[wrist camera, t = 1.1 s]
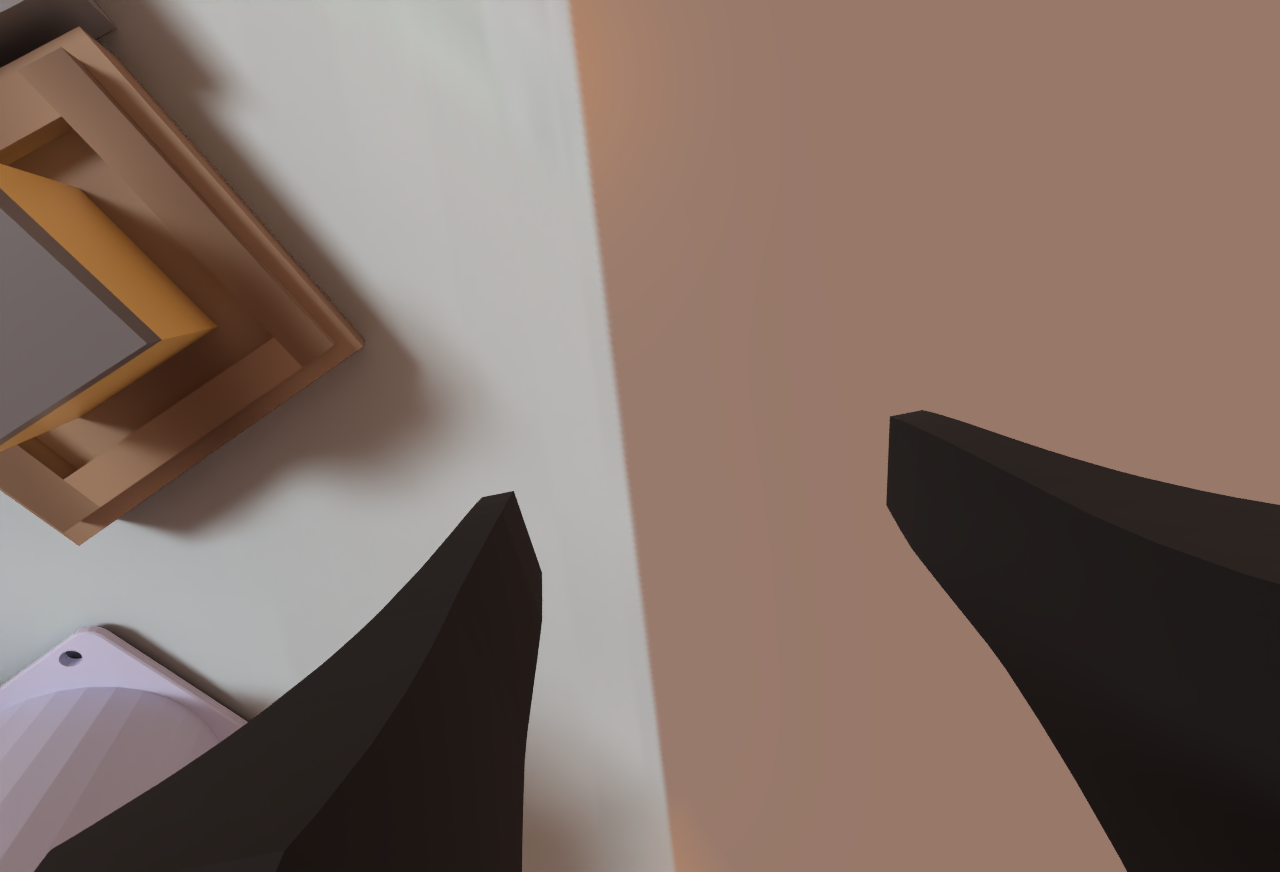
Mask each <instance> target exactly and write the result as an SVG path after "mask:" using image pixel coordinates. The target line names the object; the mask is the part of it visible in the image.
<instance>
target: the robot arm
mask: <svg viewBox="0 0 1280 872" xmlns="http://www.w3.org/2000/svg"><path fill="white" fill-rule="evenodd" d="M889 431H890V432H889V456H888V480H887V507H888V509H889V510H890V512H891V514H892V516H893V518H894V519H895V521H896V523H897V525H898V526H899V528H900V530H901V531H902V533H903V535H904V536H905V538H906V539H907V541H908V543H909V545H910V546H911V548H912V549H913V551H914V552H915V553H916V555H917V556H918V557H919V558H920V560H921V561H922V562H923V564H924V565H925V566H926V567H927V569H928V570H929V571H930V572H931V574H932V575H933V576H934V578H935V579H936V580H937V581H938V582H939V584H940V585H941V586H942V588H943V589H944V590H945V591H946V593H947V594H948V595H949V596H950V598H951V599H952V600H953V601H954V603H955V604H956V605H957V606H958V608H959V609H960V610H961V611H962V613H963V614H964V615H965V616H966V618H967V619H968V620H969V621H970V622H971V624H972V625H973V626H974V628H975V629H976V630H977V631H978V633H979V634H980V635H981V636H982V638H983V639H984V640H985V641H986V643H988V645H989V646H990V648H991V649H992V651H993V652H994V653H995V655H996V656H997V657H998V659H999V660H1000V662H1001V663H1002V664H1003V666H1004V667H1005V668H1006V670H1007V672H1008V673H1009V674H1010V676H1011V678H1012V679H1013V681H1014V682H1015V684H1016V685H1017V687H1018V688H1019V690H1020V692H1021V693H1022V695H1023V696H1024V698H1025V699H1026V701H1027V702H1028V704H1029V705H1030V707H1031V709H1032V710H1033V712H1034V713H1035V715H1036V716H1037V718H1038V719H1039V721H1040V723H1041V724H1042V726H1043V728H1044V729H1045V731H1046V733H1047V734H1048V736H1049V737H1050V739H1051V740H1052V742H1053V744H1054V745H1055V747H1056V749H1057V750H1058V752H1059V754H1060V755H1061V757H1062V759H1063V760H1064V762H1065V764H1066V765H1067V767H1068V769H1069V770H1070V772H1071V774H1072V775H1073V777H1074V778H1075V780H1076V782H1077V784H1078V785H1079V787H1080V789H1081V790H1082V792H1083V794H1084V796H1085V797H1086V799H1087V801H1088V802H1089V804H1090V806H1091V808H1092V810H1093V812H1094V813H1095V815H1096V817H1097V819H1098V820H1099V822H1100V824H1101V825H1102V827H1103V829H1104V831H1105V833H1106V834H1107V836H1108V838H1109V840H1110V841H1111V843H1112V845H1113V847H1114V848H1115V850H1116V852H1117V854H1118V855H1119V857H1120V859H1121V860H1122V863H1123V864H1124V866H1125V868H1126V870H1127V872H1280V505H1276V504H1270V503H1264V502H1259V501H1253V500H1247V499H1241V498H1235V497H1230V496H1225V495H1220V494H1215V493H1210V492H1205V491H1200V490H1196V489H1191V488H1187V487H1182V486H1178V485H1174V484H1169V483H1165V482H1161V481H1156V480H1151V479H1147V478H1143V477H1139V476H1135V475H1131V474H1128V473H1123V472H1120V471H1116V470H1113V469H1109V468H1105V467H1102V466H1098V465H1095V464H1092V463H1088V462H1085V461H1081V460H1078V459H1074V458H1071V457H1068V456H1065V455H1061V454H1058V453H1055V452H1052V451H1048V450H1045V449H1042V448H1039V447H1036V446H1033V445H1030V444H1027V443H1024V442H1021V441H1018V440H1015V439H1012V438H1009V437H1006V436H1003V435H1000V434H997V433H994V432H991V431H988V430H985V429H983V428H980V427H977V426H974V425H971V424H968V423H965V422H962V421H959V420H956V419H952V418H949V417H946V416H943V415H939V414H935V413H932V412H927V411H923V410H921V411H916V412H911V413H906V414H901V415H896V416H891V417H890V429H889ZM541 624H542V572H541V569H540V566H539V563H538V560H537V557H536V554H535V552H534V549H533V546H532V543H531V540H530V537H529V534H528V531H527V528H526V525H525V523H524V520H523V517H522V514H521V511H520V508H519V505H518V502H517V499H516V496H515V494H514V491H512V492H507V493H502V494H497V495H492V496H487V497H482V498H481V499H480V500H479V501H478V502H477V503H476V504H475V506H474V507H473V508H472V509H471V510H470V511H469V513H468V514H467V515H466V516H465V517H464V518H463V520H462V521H461V522H460V523H459V524H458V526H457V527H456V528H455V529H454V530H453V532H452V533H451V534H450V535H449V536H448V538H447V539H446V540H445V541H444V542H443V543H442V545H441V546H440V547H439V548H438V549H437V550H436V552H435V553H434V554H433V555H432V556H431V557H430V559H429V560H428V561H427V562H426V563H425V564H424V565H423V567H422V568H421V569H420V570H419V571H418V572H417V573H416V574H415V575H414V576H413V577H412V578H411V579H410V581H409V582H408V583H407V584H406V585H405V586H404V587H403V588H402V589H401V590H400V591H399V592H398V593H397V594H396V595H395V596H394V598H393V599H392V600H391V601H390V602H389V603H388V604H387V605H386V606H385V607H384V608H383V609H382V610H381V611H380V612H379V613H378V614H377V615H376V616H375V617H374V618H373V619H372V620H371V621H370V622H369V623H368V624H367V625H366V626H365V627H364V628H363V629H361V630H360V631H359V632H358V633H357V634H356V635H355V636H354V637H353V638H352V639H350V640H349V641H348V642H347V643H346V644H345V645H344V646H343V647H342V648H340V649H339V650H338V651H337V652H336V653H335V654H334V655H333V656H331V657H330V658H329V659H328V660H327V661H326V662H324V663H323V664H322V665H321V666H320V667H318V668H317V669H316V670H315V671H313V672H312V673H311V674H310V675H308V676H307V677H306V678H304V679H303V680H302V681H301V682H299V683H298V684H297V685H296V686H294V687H293V688H292V689H291V690H289V691H288V692H287V693H286V694H284V695H283V696H282V697H281V698H279V699H278V700H277V701H276V702H274V703H273V704H272V705H270V706H269V707H268V708H267V709H265V710H264V711H263V712H261V713H260V714H259V715H257V716H256V717H255V718H253V719H252V720H251V721H249V722H247V721H246V720H244V719H243V718H241V717H240V716H238V715H236V714H235V713H233V712H232V711H230V710H229V709H227V708H226V707H224V706H223V705H221V704H220V703H218V702H217V701H215V700H214V699H212V698H211V697H209V696H207V695H206V694H204V693H203V692H201V691H200V690H198V689H197V688H195V687H194V686H192V685H191V684H189V683H188V682H186V681H185V680H183V679H181V678H180V677H178V676H177V675H175V674H174V673H172V672H171V671H169V670H168V669H166V668H165V667H163V666H162V665H160V664H159V663H157V662H156V661H154V660H152V659H151V658H149V657H148V656H146V655H145V654H143V653H142V652H140V651H139V650H137V649H136V648H134V647H133V646H131V645H130V644H128V643H126V642H125V641H123V640H122V639H120V638H119V637H117V636H116V635H114V634H113V633H111V632H110V631H108V630H107V629H104V628H102V627H98V626H88V627H83V628H81V629H79V630H77V631H75V632H74V633H73V634H71V635H70V636H69V637H67V638H66V639H64V640H63V641H62V642H60V643H59V644H58V645H56V646H55V647H53V648H52V649H51V650H49V651H48V652H47V653H45V654H44V655H43V656H41V657H40V658H38V659H37V660H36V661H34V662H33V663H32V664H30V665H29V666H27V667H26V668H25V669H23V670H22V671H21V672H19V673H18V674H16V675H15V676H14V677H12V678H11V679H10V680H8V681H7V682H5V683H4V684H3V685H1V686H0V872H522V826H523V793H524V764H525V751H526V740H527V731H528V723H529V716H530V708H531V701H532V693H533V686H534V678H535V671H536V664H537V656H538V648H539V640H540V632H541ZM66 651H76V652H79V653H80V654H81V655H82V658H79V659H73V658H70V657H68V656H67V655H66Z"/></svg>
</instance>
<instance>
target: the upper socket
mask: <svg viewBox="0 0 1280 872" xmlns="http://www.w3.org/2000/svg"><path fill="white" fill-rule="evenodd" d="M0 164H3V165H6V166H9V167H13V168H16V169H19V170H22V171H25V172H29V173H32V174H35V175H38V176H41V177H45V178H48V179H51V180H54V181H57V182H61V183H64V184H67V185H70V186H73V187H77V188H79V189H80V190H81V191H82V192H83V193H84V194H85V195H86V196H87V197H88V198H89V199H90V200H91V201H92V202H93V203H94V204H95V205H96V206H97V207H98V208H99V209H100V210H101V211H102V212H103V213H104V214H105V215H106V216H107V217H108V218H109V219H110V220H111V221H112V222H113V223H114V224H115V225H116V226H117V227H118V228H119V229H120V230H121V231H122V232H123V233H124V234H125V235H126V236H127V237H128V238H129V239H130V240H131V241H132V242H133V243H134V244H135V245H136V246H137V247H138V248H139V249H140V250H141V251H142V252H143V253H144V254H145V255H146V256H147V257H148V258H149V259H150V260H151V261H152V262H153V263H154V264H155V265H156V266H157V267H158V268H159V269H160V270H161V271H162V272H163V273H164V274H165V275H166V276H167V277H168V278H169V279H170V280H171V281H172V282H173V283H174V284H176V285H177V286H178V287H179V288H180V289H181V290H182V291H183V292H184V293H185V294H186V295H187V296H188V297H189V298H190V299H191V300H192V301H193V302H194V303H195V304H196V305H197V306H198V307H199V308H200V309H201V310H202V311H203V312H204V313H205V314H206V315H207V316H208V317H209V318H210V319H211V320H212V321H213V322H214V323H215V324H216V325H217V326H218V327H216V328H215V329H213V330H212V331H210V332H209V333H207V334H206V335H204V336H203V337H201V338H199V339H198V340H196V341H195V342H193V343H192V344H190V345H189V346H187V347H186V348H184V349H183V350H181V351H180V352H178V353H177V354H175V355H174V356H172V357H171V358H169V359H168V360H166V361H165V362H163V363H162V364H160V365H158V366H157V367H155V368H154V369H152V370H151V371H149V372H148V373H146V374H145V375H143V376H142V377H140V378H139V379H137V380H136V381H134V382H133V383H131V384H130V385H128V386H127V387H125V388H124V389H122V390H121V391H119V392H118V393H116V394H114V395H113V396H111V397H110V398H108V399H107V400H105V401H104V402H102V403H101V404H99V405H98V406H96V407H95V408H93V409H92V410H90V411H89V412H87V413H86V414H84V415H83V416H81V417H80V418H78V419H75V420H73V421H71V422H68V423H66V424H64V425H61V426H59V427H57V428H54V429H52V430H50V431H47V432H45V433H43V434H40V435H38V436H36V437H33V438H31V439H29V440H26V441H24V442H22V443H19V444H17V445H15V446H12V447H10V448H8V449H5V450H3V451H1V452H0V490H1V491H2V492H4V493H5V494H7V495H8V496H9V497H11V498H12V499H14V500H15V501H16V502H18V503H19V504H21V505H22V506H24V507H25V508H26V509H28V510H29V511H31V512H32V513H33V514H35V515H36V516H38V517H39V518H40V519H42V520H43V521H45V522H46V523H48V524H49V525H50V526H52V527H53V528H55V529H56V530H57V531H59V532H60V533H62V534H63V535H64V536H66V537H67V538H69V539H70V540H72V541H73V542H74V543H76V544H77V545H81V544H82V543H84V542H85V541H87V540H88V539H89V538H91V537H92V536H94V535H95V534H97V533H98V532H99V531H101V530H102V529H104V528H105V527H107V526H108V525H109V524H111V523H112V522H114V521H115V520H117V519H118V518H119V517H121V516H122V515H124V514H125V513H126V512H128V511H129V510H131V509H132V508H134V507H135V506H136V505H138V504H139V503H141V502H142V501H144V500H145V499H146V498H148V497H149V496H151V495H152V494H154V493H155V492H156V491H158V490H159V489H161V488H162V487H164V486H165V485H166V484H168V483H169V482H171V481H172V480H174V479H175V478H176V477H178V476H179V475H181V474H182V473H184V472H185V471H186V470H188V469H189V468H191V467H192V466H194V465H195V464H196V463H198V462H199V461H201V460H202V459H204V458H205V457H206V456H208V455H209V454H211V453H212V452H214V451H215V450H216V449H218V448H219V447H221V446H222V445H224V444H225V443H226V442H228V441H229V440H231V439H232V438H234V437H235V436H236V435H238V434H239V433H241V432H242V431H243V430H245V429H246V428H248V427H249V426H251V425H252V424H253V423H255V422H256V421H258V420H259V419H261V418H262V417H263V416H265V415H266V414H268V413H269V412H271V411H272V410H273V409H275V408H276V407H278V406H279V405H281V404H282V403H283V402H285V401H286V400H288V399H289V398H291V397H292V396H293V395H295V394H296V393H298V392H299V391H301V390H302V389H303V388H305V387H306V386H308V385H309V384H311V383H312V382H313V381H315V380H316V379H318V378H319V377H321V376H322V375H323V374H325V373H326V372H328V371H329V370H331V369H332V368H333V367H335V366H336V365H338V364H339V363H341V362H342V361H343V360H345V359H346V358H348V357H349V356H351V355H352V354H353V353H355V352H356V351H358V350H359V349H360V348H362V347H363V345H364V343H365V340H364V339H363V338H362V336H361V335H360V334H359V333H358V332H357V331H356V330H355V328H354V327H353V326H352V325H351V324H350V323H349V322H348V320H347V319H346V318H345V317H344V316H343V315H342V314H341V313H340V311H339V310H338V309H337V308H336V307H335V306H334V305H333V303H332V302H331V301H330V300H329V299H328V298H327V297H326V295H325V294H324V293H323V292H322V291H321V290H320V289H319V287H318V286H317V285H316V284H315V283H314V282H313V281H312V280H311V278H310V277H309V276H308V275H307V274H306V273H305V272H304V270H303V269H302V268H301V267H300V266H299V265H298V264H297V262H296V261H295V260H294V259H293V258H292V257H291V256H290V254H289V253H288V252H287V251H286V250H285V249H284V248H283V247H282V245H281V244H280V243H279V242H278V241H277V240H276V239H275V237H274V236H273V235H272V234H271V233H270V232H269V231H268V229H267V228H266V227H265V226H264V225H263V224H262V223H261V221H260V220H259V219H258V218H257V217H256V216H255V215H254V214H253V212H252V211H251V210H250V209H249V208H248V207H247V206H246V204H245V203H244V202H243V201H242V200H241V199H240V198H239V196H238V195H237V194H236V193H235V192H234V191H233V190H232V189H231V187H230V186H229V185H228V184H227V183H226V182H225V181H224V179H223V178H222V177H221V176H220V175H219V174H218V173H217V171H216V170H215V169H214V168H213V167H212V166H211V165H210V163H209V162H208V161H207V160H206V159H205V158H204V157H203V156H202V154H201V153H200V152H199V151H198V150H197V149H196V148H195V146H194V145H193V144H192V143H191V142H190V141H189V140H188V138H187V137H186V136H185V135H184V134H183V133H182V132H181V130H180V129H179V128H178V127H177V126H176V125H175V124H174V123H173V121H172V120H171V119H170V118H169V117H168V116H167V115H166V113H165V112H164V111H163V110H162V109H161V108H160V107H159V105H158V104H157V103H156V102H155V101H154V100H153V99H152V97H151V96H150V95H149V94H148V93H147V92H146V91H145V90H144V88H143V87H142V86H141V85H140V84H139V83H138V82H137V80H136V79H135V78H134V77H133V76H132V75H131V74H130V72H129V71H128V70H127V69H126V68H125V67H124V66H123V64H122V63H121V62H120V61H119V60H118V59H117V58H116V57H115V56H114V55H113V54H112V53H110V52H109V51H108V50H107V49H106V48H104V47H103V46H102V45H101V44H100V43H98V42H97V41H96V40H95V39H94V38H92V37H91V36H90V35H89V34H88V33H86V32H85V31H84V30H83V29H82V28H80V27H77V28H75V29H73V30H71V31H69V32H67V33H65V34H64V35H62V36H60V37H58V38H56V39H54V40H52V41H50V42H48V43H47V44H45V45H43V46H41V47H39V48H37V49H35V50H33V51H31V52H30V53H28V54H26V55H24V56H22V57H20V58H18V59H16V60H14V61H13V62H11V63H9V64H7V65H5V66H3V67H1V68H0Z"/></svg>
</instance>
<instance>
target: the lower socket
mask: <svg viewBox="0 0 1280 872" xmlns="http://www.w3.org/2000/svg"><path fill="white" fill-rule="evenodd" d="M77 27H80V28H82V29H83V30H84V31H85V32H86V33H88V34H89V35H90V36H91V37H92V38H94V39H97V38H99V37H101V36H102V35H104V34H106V33H108V32H110V31H112V30H114V29H115V28H117V27H116V26H115V25H114V24H113V23H112V22H111V20H110V19H109V18H108V17H107V16H106V15H105V13H104V12H103V11H102V10H101V9H100V8H99V7H98V5H97V4H96V3H95V2H94V1H93V0H0V68H1V67H3V66H5V65H7V64H9V63H11V62H13V61H14V60H16V59H18V58H20V57H22V56H24V55H26V54H28V53H30V52H31V51H33V50H35V49H37V48H39V47H41V46H43V45H45V44H47V43H48V42H50V41H52V40H54V39H56V38H58V37H60V36H62V35H64V34H65V33H67V32H69V31H71V30H73V29H75V28H77Z"/></svg>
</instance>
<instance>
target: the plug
mask: <svg viewBox="0 0 1280 872" xmlns="http://www.w3.org/2000/svg"><path fill="white" fill-rule="evenodd" d="M216 327H218V326H217V325H216V324H215V323H214V322H213V321H212V320H211V319H210V318H209V317H208V316H207V315H206V314H205V313H204V312H203V311H202V310H201V309H200V308H199V307H198V306H197V305H196V304H195V303H194V302H193V301H192V300H191V299H190V298H189V297H188V296H187V295H186V294H185V293H184V292H183V291H182V290H181V289H180V288H179V287H178V286H177V285H176V284H174V283H173V282H172V281H171V280H170V279H169V278H168V277H167V276H166V275H165V274H164V273H163V272H162V271H161V270H160V269H159V268H158V267H157V266H156V265H155V264H154V263H153V262H152V261H151V260H150V259H149V258H148V257H147V256H146V255H145V254H144V253H143V252H142V251H141V250H140V249H139V248H138V247H137V246H136V245H135V244H134V243H133V242H132V241H131V240H130V239H129V238H128V237H127V236H126V235H125V234H124V233H123V232H122V231H121V230H120V229H119V228H118V227H117V226H116V225H115V224H114V223H113V222H112V221H111V220H110V219H109V218H108V217H107V216H106V215H105V214H104V213H103V212H102V211H101V210H100V209H99V208H98V207H97V206H96V205H95V204H94V203H93V202H92V201H91V200H90V199H89V198H88V197H87V196H86V195H85V194H84V193H83V192H82V191H81V190H80V189H79V188H77V187H73V186H70V185H67V184H64V183H61V182H57V181H54V180H51V179H48V178H45V177H41V176H38V175H35V174H32V173H29V172H25V171H22V170H19V169H16V168H13V167H9V166H6V165H3V164H0V452H1V451H3V450H5V449H8V448H10V447H12V446H15V445H17V444H19V443H22V442H24V441H26V440H29V439H31V438H33V437H36V436H38V435H40V434H43V433H45V432H47V431H50V430H52V429H54V428H57V427H59V426H61V425H64V424H66V423H68V422H71V421H73V420H75V419H78V418H80V417H81V416H83V415H84V414H86V413H87V412H89V411H90V410H92V409H93V408H95V407H96V406H98V405H99V404H101V403H102V402H104V401H105V400H107V399H108V398H110V397H111V396H113V395H114V394H116V393H118V392H119V391H121V390H122V389H124V388H125V387H127V386H128V385H130V384H131V383H133V382H134V381H136V380H137V379H139V378H140V377H142V376H143V375H145V374H146V373H148V372H149V371H151V370H152V369H154V368H155V367H157V366H158V365H160V364H162V363H163V362H165V361H166V360H168V359H169V358H171V357H172V356H174V355H175V354H177V353H178V352H180V351H181V350H183V349H184V348H186V347H187V346H189V345H190V344H192V343H193V342H195V341H196V340H198V339H199V338H201V337H203V336H204V335H206V334H207V333H209V332H210V331H212V330H213V329H215V328H216Z"/></svg>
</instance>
